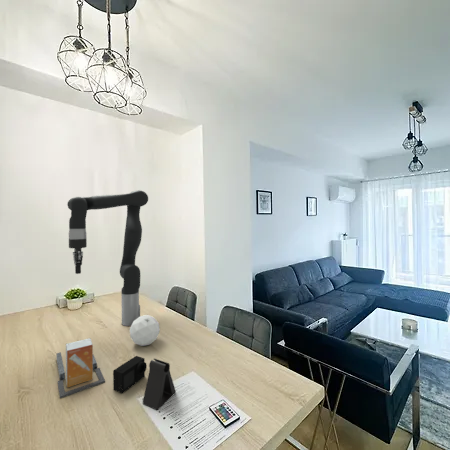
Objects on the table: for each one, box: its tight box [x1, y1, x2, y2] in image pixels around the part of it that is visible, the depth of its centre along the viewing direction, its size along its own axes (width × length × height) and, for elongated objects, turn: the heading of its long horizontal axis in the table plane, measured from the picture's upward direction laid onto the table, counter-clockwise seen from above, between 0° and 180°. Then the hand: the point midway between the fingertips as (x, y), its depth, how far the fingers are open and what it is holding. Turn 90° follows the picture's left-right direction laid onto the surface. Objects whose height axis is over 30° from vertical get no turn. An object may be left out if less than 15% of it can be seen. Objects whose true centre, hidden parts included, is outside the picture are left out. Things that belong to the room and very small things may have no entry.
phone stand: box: [142, 358, 177, 411], centre depth 81 cm, size 9×6×12 cm, turn 152°
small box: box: [65, 337, 94, 388], centre depth 91 cm, size 8×6×13 cm
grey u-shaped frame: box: [56, 352, 98, 381], centre depth 101 cm, size 12×18×2 cm, turn 37°
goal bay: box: [57, 367, 106, 399], centre depth 89 cm, size 14×10×1 cm
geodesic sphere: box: [129, 314, 161, 347], centre depth 117 cm, size 14×14×14 cm
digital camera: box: [112, 355, 147, 394], centre depth 89 cm, size 10×5×7 cm, turn 154°
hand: (78, 273), depth 123 cm, fingers closed
